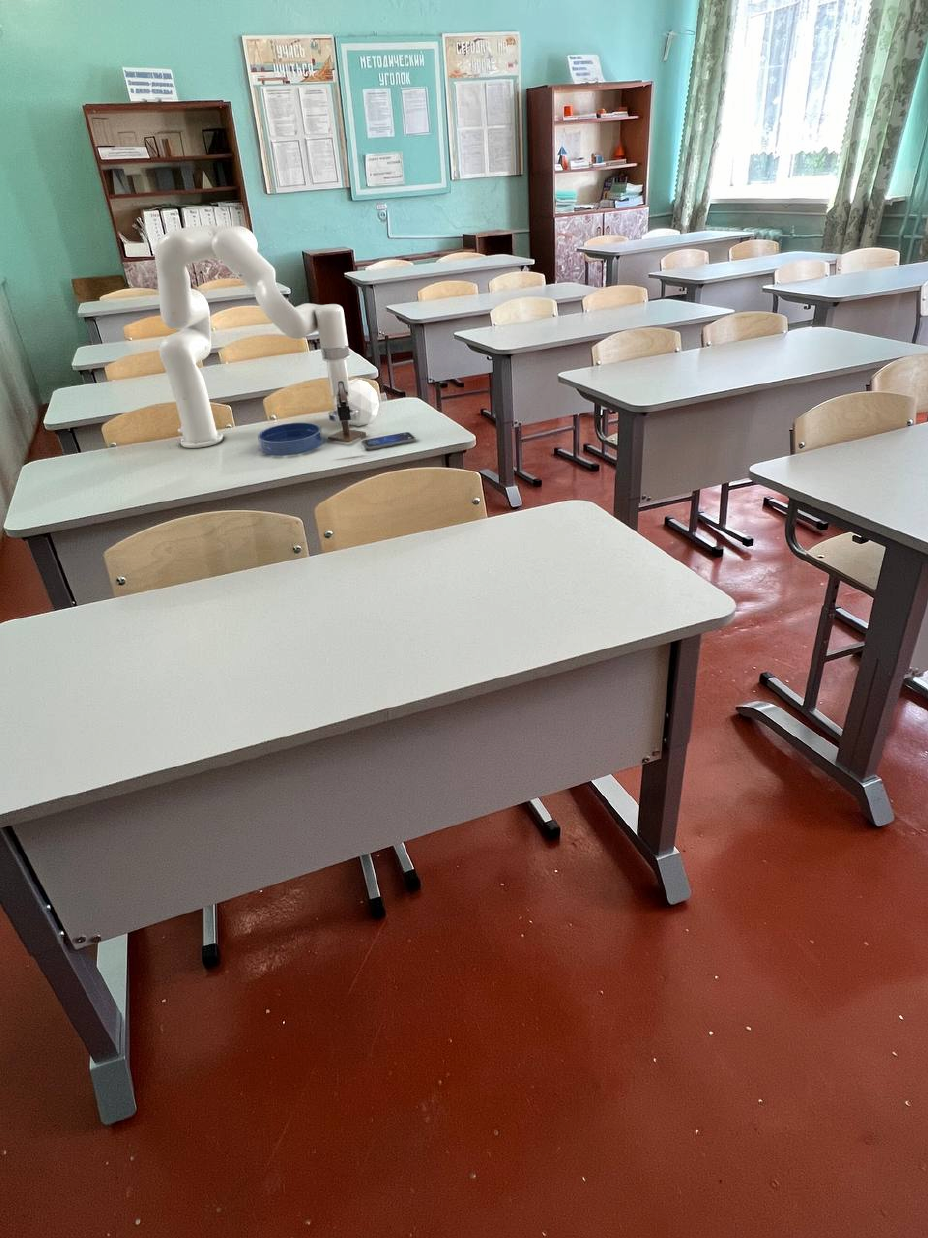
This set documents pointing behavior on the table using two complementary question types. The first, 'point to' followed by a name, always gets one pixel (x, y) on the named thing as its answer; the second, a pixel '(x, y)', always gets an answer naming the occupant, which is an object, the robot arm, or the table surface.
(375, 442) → the smartphone
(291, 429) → the bowl
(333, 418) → the ring
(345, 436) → the peg board base
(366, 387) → the geodesic sphere
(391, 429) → the table surface
